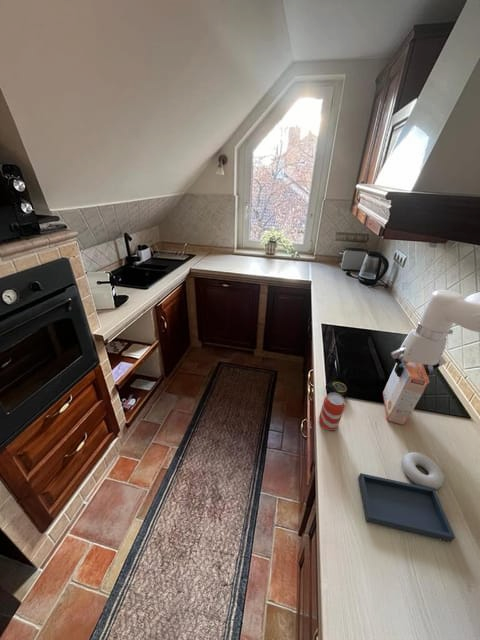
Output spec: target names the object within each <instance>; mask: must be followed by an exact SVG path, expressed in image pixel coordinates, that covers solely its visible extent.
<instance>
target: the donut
mask: <svg viewBox="0 0 480 640" xmlns="http://www.w3.org/2000/svg"><path fill="white" fill-rule="evenodd" d="M417 466H419V467H422V468H423V469H424V470H425V471H426V472H427V474H424V473H422V472H421V471H420V470H418V468H417ZM401 467H402V469H403V471H404V474H405V475H406V476H407V478H408V479H409V480H410V481H411V482H412V483H413V484H414V485H418V486H423V487H428V488H432V489H435V490H438V489H440V488H441V487H442V486H443V484H444V475H443V471H442V469H441V468H440V467H439V466H438V464H437V462H436V461H434V460H433V459H431V458H430V457H429V456H427V455H425V454H423V453H420V452H417V451H411V452H407V453H406V454H404V455H403V457H402V460H401Z"/></svg>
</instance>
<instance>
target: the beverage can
mask: <svg viewBox="0 0 480 640" xmlns="http://www.w3.org/2000/svg"><path fill="white" fill-rule="evenodd" d="M345 407H346V405H345V397H344V398H343V397H342V396H341V395H340V394H337V393H329V392H328V394H327V395H326V396H325V397H324V399H323V402H322V406H321V409H320V413H319V417H318V423H319V424H320V425H321V427H322V428H324V429H326V430H328V431H333V430H336V429H337V428H338V427H339V425H340V422H341V419H342V417H343V413H344V411H345Z"/></svg>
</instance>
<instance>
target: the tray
mask: <svg viewBox="0 0 480 640" xmlns="http://www.w3.org/2000/svg"><path fill="white" fill-rule="evenodd" d="M357 481H358V486H359V491H360V496H361V502H362V507H363V512H364V513H363V514H364V517H365V518H364V519H365V522H366V523H369V524H374V525H376V526H377V525H378V526H382V527H385V528H389V529H394V530H397V531H402V532H405V533H410V534H415V535H419V536H423V537H427V538H430V537H431V538H430V539H435V538H436V539H435V540H439V539H441V540H440V541H443V540H445V541H444V542H447V541H449V542H448V543H452V541H454V540H455V539H456V536H455V534H454V531H453V529H452V527H451V524H450V522H449V520H448V517H447V515H446V513H445V510H444V508H443V506H442V503H441V500H440V498H439V496H438V494H437V491H436V489H432V488H428V487H423V486H419V485H417V484H415V483H409V482H404V481H401V480H400V481H399V480H395V479H394V480H393V479H389V478H387V477H386V478H385V477H380V476H375V475H371V474H367V473H361V472H360V473H359V475H358V477H357Z"/></svg>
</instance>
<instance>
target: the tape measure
mask: <svg viewBox="0 0 480 640" xmlns="http://www.w3.org/2000/svg"><path fill="white" fill-rule="evenodd" d="M325 390H326V391H327V392H328V394H329V393H337V394H340V395H341V396H342V397H343V398H344V399H345V397H346V396H348V387H347V386H346V384H345V383H343V382H342V381H338V380H333V381H331V382H329V383H327V384H326V385H325Z"/></svg>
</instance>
